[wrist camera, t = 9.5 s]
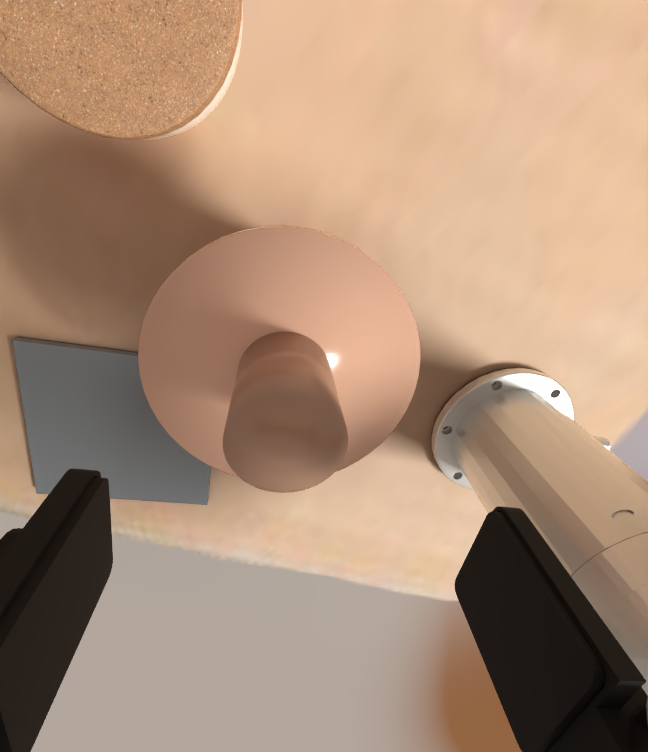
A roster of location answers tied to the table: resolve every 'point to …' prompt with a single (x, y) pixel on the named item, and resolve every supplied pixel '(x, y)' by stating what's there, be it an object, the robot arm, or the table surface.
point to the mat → (100, 424)
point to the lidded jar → (122, 61)
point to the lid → (279, 356)
